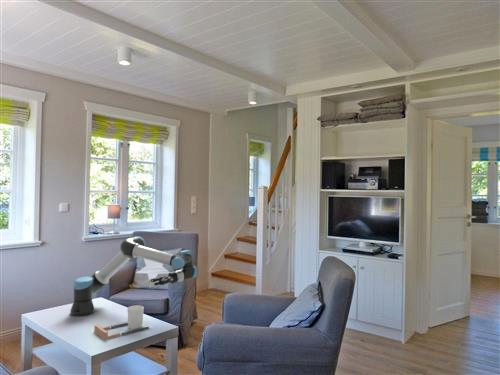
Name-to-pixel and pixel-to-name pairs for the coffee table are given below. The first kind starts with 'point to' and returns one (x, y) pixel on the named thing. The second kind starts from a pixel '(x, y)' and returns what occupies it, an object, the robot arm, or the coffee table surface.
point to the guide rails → (129, 330)
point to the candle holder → (135, 316)
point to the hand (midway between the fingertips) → (145, 284)
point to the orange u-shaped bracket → (104, 332)
